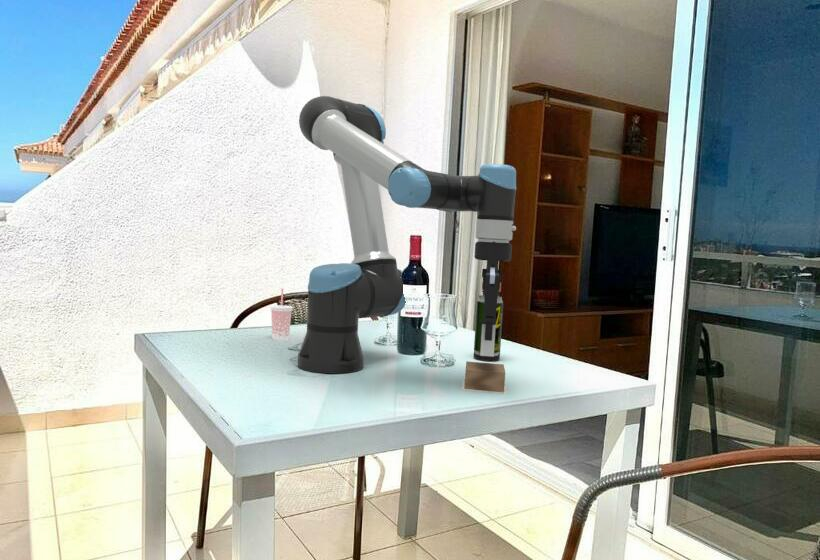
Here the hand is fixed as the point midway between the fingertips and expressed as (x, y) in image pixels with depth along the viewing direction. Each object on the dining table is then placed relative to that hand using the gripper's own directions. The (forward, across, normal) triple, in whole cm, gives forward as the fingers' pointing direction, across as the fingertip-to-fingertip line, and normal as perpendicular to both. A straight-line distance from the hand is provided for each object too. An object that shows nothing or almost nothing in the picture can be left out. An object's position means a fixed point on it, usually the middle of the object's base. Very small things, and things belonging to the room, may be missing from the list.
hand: (486, 352), depth 126 cm
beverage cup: (+8, +36, +56) cm, 67 cm away
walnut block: (+7, 0, 0) cm, 7 cm away
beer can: (0, 0, 0) cm, 0 cm away
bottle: (+8, +31, -1) cm, 32 cm away
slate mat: (+8, 0, +3) cm, 8 cm away
